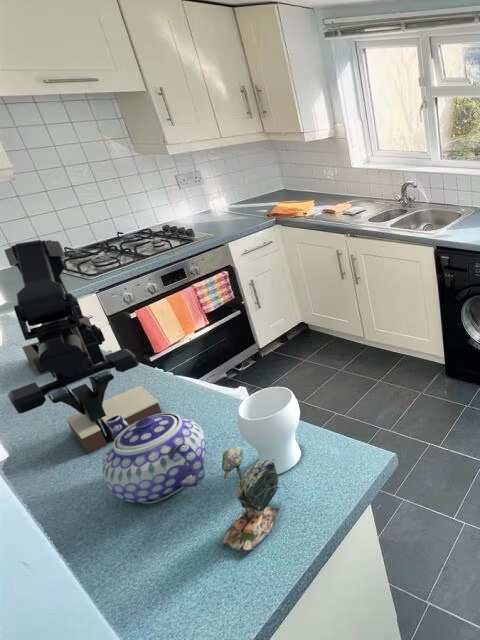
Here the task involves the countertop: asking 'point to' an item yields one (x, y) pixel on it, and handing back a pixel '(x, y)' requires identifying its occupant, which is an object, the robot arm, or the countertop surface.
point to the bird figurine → (251, 501)
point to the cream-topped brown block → (86, 432)
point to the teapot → (154, 457)
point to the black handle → (90, 404)
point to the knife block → (32, 353)
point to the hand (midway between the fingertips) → (92, 410)
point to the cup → (271, 426)
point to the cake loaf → (130, 407)
